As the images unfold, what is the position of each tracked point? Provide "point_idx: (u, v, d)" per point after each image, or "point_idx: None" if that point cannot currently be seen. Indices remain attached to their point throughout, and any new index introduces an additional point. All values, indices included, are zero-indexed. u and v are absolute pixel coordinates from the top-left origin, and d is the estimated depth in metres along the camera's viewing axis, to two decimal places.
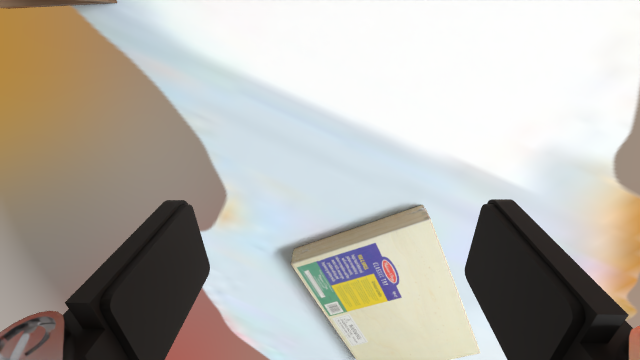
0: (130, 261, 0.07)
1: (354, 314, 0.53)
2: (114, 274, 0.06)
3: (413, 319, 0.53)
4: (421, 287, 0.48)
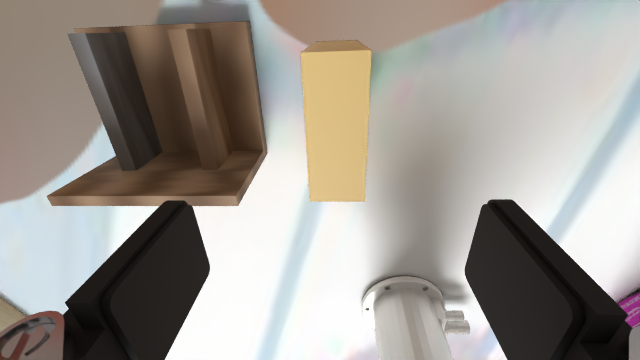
0: (130, 261, 0.07)
1: None
2: (115, 274, 0.06)
3: None
4: None
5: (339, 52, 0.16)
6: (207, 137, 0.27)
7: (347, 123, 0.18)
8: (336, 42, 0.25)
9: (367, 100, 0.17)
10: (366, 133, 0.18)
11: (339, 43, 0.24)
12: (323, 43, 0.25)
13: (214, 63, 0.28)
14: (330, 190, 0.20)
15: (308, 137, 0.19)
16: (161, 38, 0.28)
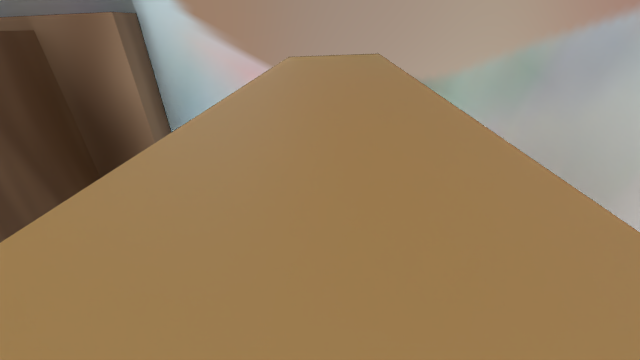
0: None
1: None
2: None
3: None
4: None
5: None
6: None
7: None
8: (331, 64, 0.10)
9: None
10: None
11: (339, 72, 0.08)
12: (295, 69, 0.09)
13: (57, 108, 0.12)
14: None
15: None
16: None
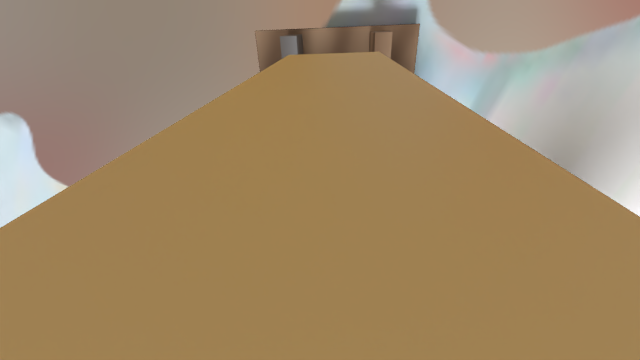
0: None
1: None
2: None
3: None
4: None
5: None
6: None
7: None
8: (331, 62, 0.10)
9: None
10: None
11: (339, 69, 0.08)
12: (295, 66, 0.09)
13: None
14: None
15: None
16: (335, 39, 0.30)
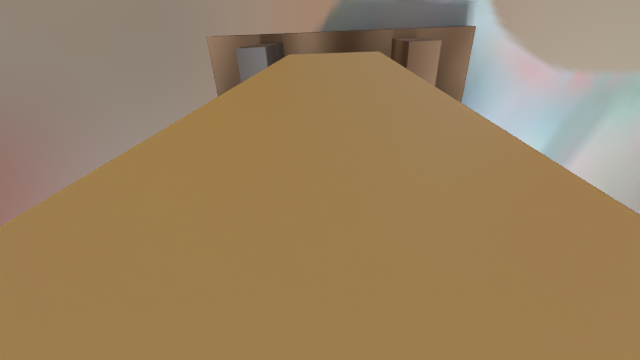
0: None
1: None
2: None
3: None
4: None
5: None
6: None
7: None
8: (331, 61, 0.10)
9: None
10: None
11: (339, 69, 0.08)
12: (295, 66, 0.09)
13: None
14: None
15: None
16: (337, 51, 0.19)
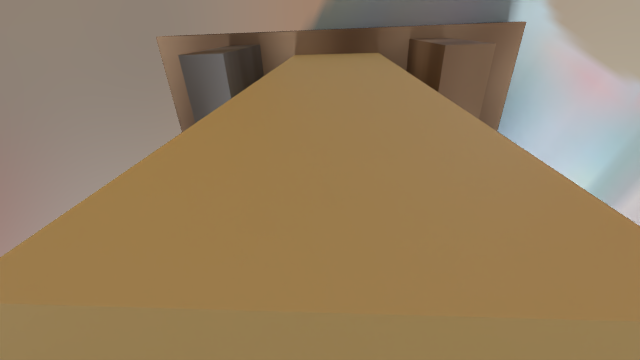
0: None
1: None
2: None
3: None
4: None
5: (368, 319, 0.01)
6: None
7: None
8: (335, 62, 0.11)
9: None
10: None
11: (343, 68, 0.09)
12: (302, 65, 0.10)
13: None
14: None
15: None
16: None
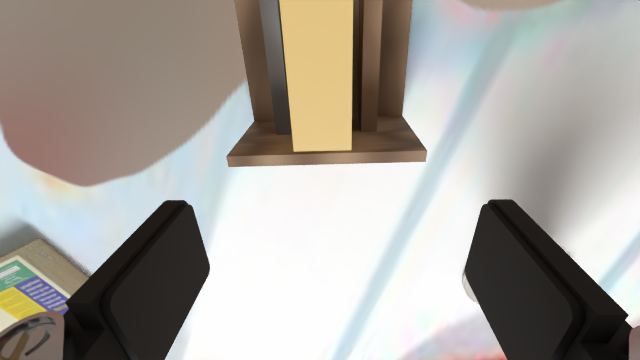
0: (130, 261, 0.07)
1: None
2: (114, 274, 0.06)
3: None
4: None
5: None
6: (375, 96, 0.27)
7: (330, 59, 0.17)
8: None
9: (350, 31, 0.16)
10: (351, 71, 0.17)
11: None
12: None
13: None
14: (315, 138, 0.19)
15: (289, 77, 0.18)
16: None
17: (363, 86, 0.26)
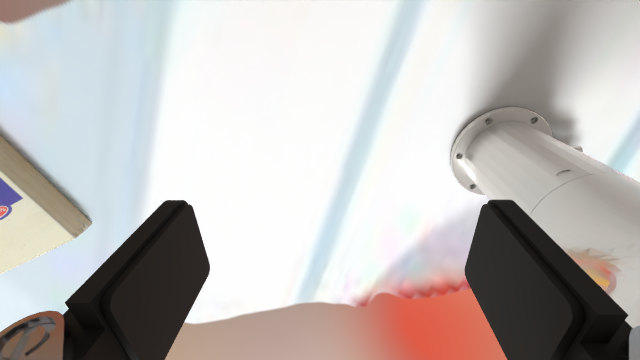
0: (130, 261, 0.07)
1: None
2: (115, 274, 0.06)
3: None
4: None
5: None
6: None
7: None
8: None
9: None
10: None
11: None
12: None
13: None
14: None
15: None
16: None
17: None
